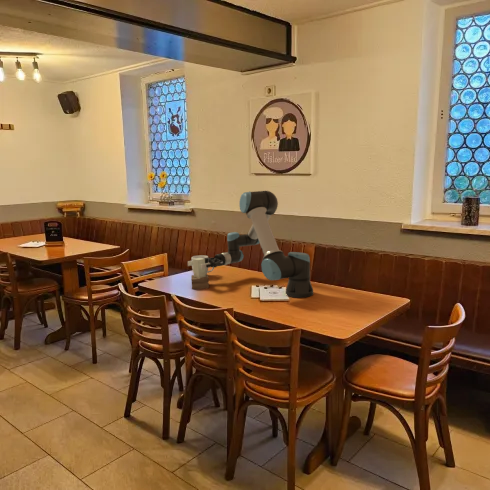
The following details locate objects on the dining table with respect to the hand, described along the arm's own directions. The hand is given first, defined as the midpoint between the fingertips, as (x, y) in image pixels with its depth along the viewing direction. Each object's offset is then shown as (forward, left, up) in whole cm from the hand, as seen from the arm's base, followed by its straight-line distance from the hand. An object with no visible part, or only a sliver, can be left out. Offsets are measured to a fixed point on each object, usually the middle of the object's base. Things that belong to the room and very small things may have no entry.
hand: (194, 265), depth 258 cm
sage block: (+2, -3, -8) cm, 8 cm away
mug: (+28, -5, -14) cm, 32 cm away
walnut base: (+2, -3, -14) cm, 14 cm away
